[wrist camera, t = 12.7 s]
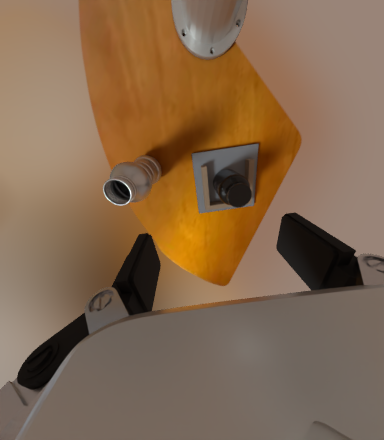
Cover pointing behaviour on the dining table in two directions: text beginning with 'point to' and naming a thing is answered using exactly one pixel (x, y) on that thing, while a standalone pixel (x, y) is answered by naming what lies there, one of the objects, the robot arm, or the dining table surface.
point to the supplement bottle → (232, 188)
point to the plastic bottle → (132, 180)
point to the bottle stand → (216, 161)
